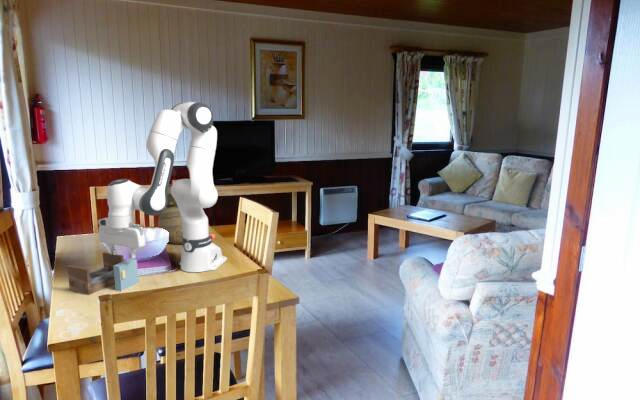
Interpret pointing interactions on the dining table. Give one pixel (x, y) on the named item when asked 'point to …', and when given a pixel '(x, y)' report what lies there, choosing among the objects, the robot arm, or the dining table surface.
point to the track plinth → (93, 275)
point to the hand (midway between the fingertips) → (123, 256)
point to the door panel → (125, 274)
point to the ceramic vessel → (171, 219)
